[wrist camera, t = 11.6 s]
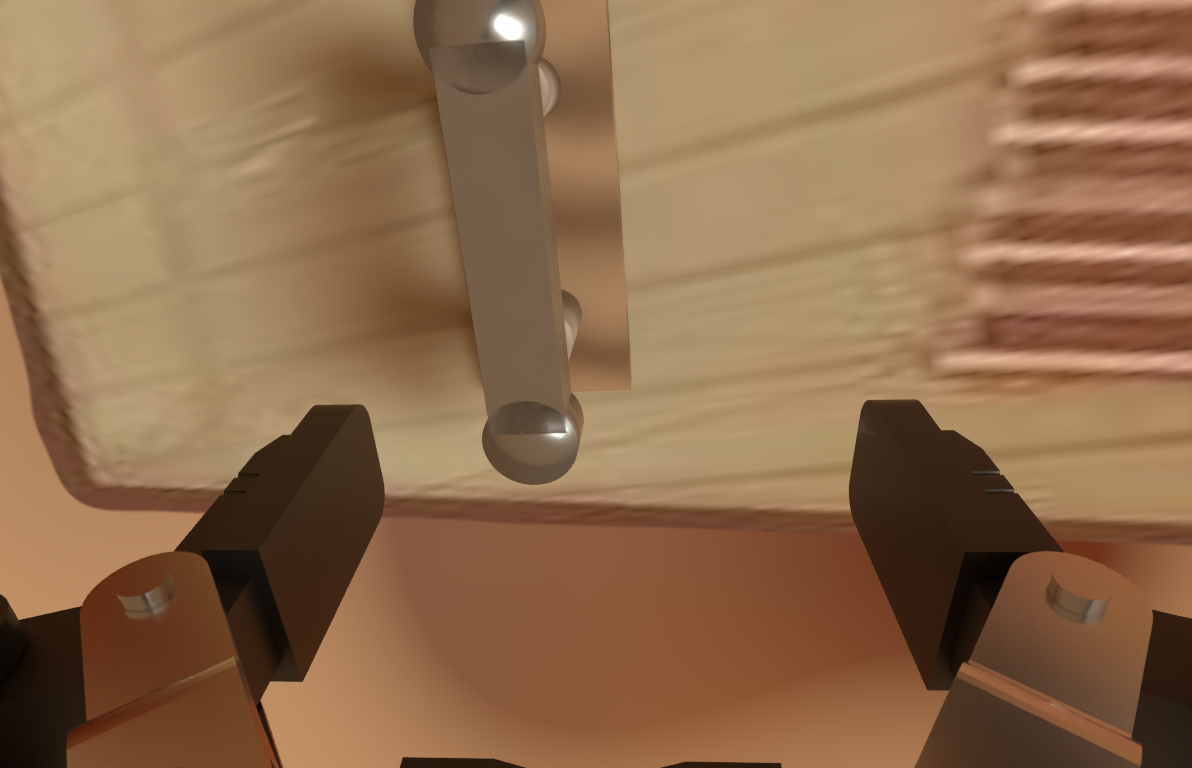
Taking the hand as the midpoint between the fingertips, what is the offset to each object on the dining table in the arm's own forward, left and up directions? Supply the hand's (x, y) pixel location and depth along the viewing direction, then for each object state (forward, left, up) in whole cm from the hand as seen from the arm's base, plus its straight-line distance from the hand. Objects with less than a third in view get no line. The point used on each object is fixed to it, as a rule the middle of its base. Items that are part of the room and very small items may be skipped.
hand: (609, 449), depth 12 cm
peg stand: (+1, -6, -30) cm, 30 cm away
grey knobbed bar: (+1, -6, -20) cm, 21 cm away
